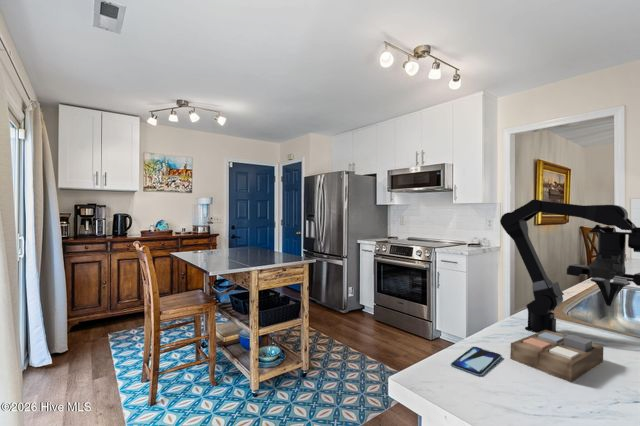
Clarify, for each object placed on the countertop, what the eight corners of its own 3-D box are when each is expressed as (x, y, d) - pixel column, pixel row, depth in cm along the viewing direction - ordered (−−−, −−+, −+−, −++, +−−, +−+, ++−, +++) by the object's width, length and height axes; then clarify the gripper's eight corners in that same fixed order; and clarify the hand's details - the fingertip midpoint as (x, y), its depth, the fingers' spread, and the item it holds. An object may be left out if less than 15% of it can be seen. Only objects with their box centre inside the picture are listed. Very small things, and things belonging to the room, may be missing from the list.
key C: (537, 346, 87) (537, 335, 87) (545, 342, 90) (545, 332, 90) (556, 352, 84) (556, 341, 84) (563, 348, 86) (563, 337, 86)
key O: (563, 349, 82) (564, 337, 82) (570, 345, 85) (571, 334, 85) (584, 356, 79) (585, 343, 79) (591, 352, 81) (592, 340, 81)
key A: (548, 362, 78) (549, 349, 78) (557, 358, 80) (557, 346, 80) (570, 370, 74) (571, 357, 74) (578, 365, 77) (578, 353, 77)
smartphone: (448, 364, 78) (473, 345, 88) (448, 368, 78) (473, 349, 88) (481, 376, 73) (503, 354, 83) (481, 380, 73) (502, 358, 83)
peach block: (522, 352, 83) (522, 341, 83) (530, 348, 85) (531, 337, 85) (541, 359, 79) (541, 347, 79) (549, 355, 82) (550, 343, 82)
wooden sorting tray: (510, 358, 82) (510, 343, 82) (545, 343, 93) (545, 329, 93) (571, 382, 71) (571, 364, 71) (603, 362, 82) (603, 346, 82)
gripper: (559, 247, 93) (557, 301, 94) (649, 256, 78) (646, 320, 78) (575, 245, 99) (573, 296, 100) (662, 253, 84) (659, 313, 84)
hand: (609, 305), depth 90 cm, fingers closed
